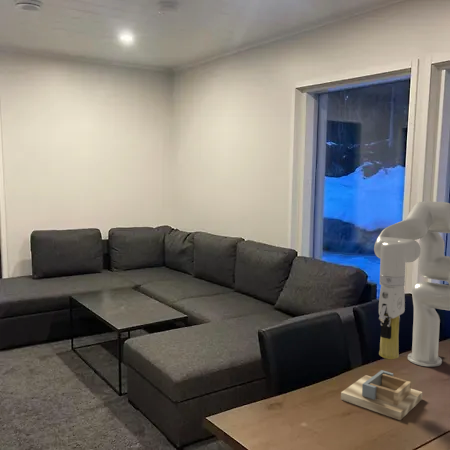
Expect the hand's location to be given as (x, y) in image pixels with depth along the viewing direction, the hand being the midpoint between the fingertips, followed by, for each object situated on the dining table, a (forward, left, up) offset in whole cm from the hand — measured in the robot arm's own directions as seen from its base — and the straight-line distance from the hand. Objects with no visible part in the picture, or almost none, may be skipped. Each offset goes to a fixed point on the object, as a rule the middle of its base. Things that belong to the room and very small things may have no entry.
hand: (389, 334), depth 156 cm
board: (0, -2, -23) cm, 23 cm away
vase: (0, 0, -7) cm, 7 cm away
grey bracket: (0, -3, -20) cm, 20 cm away
